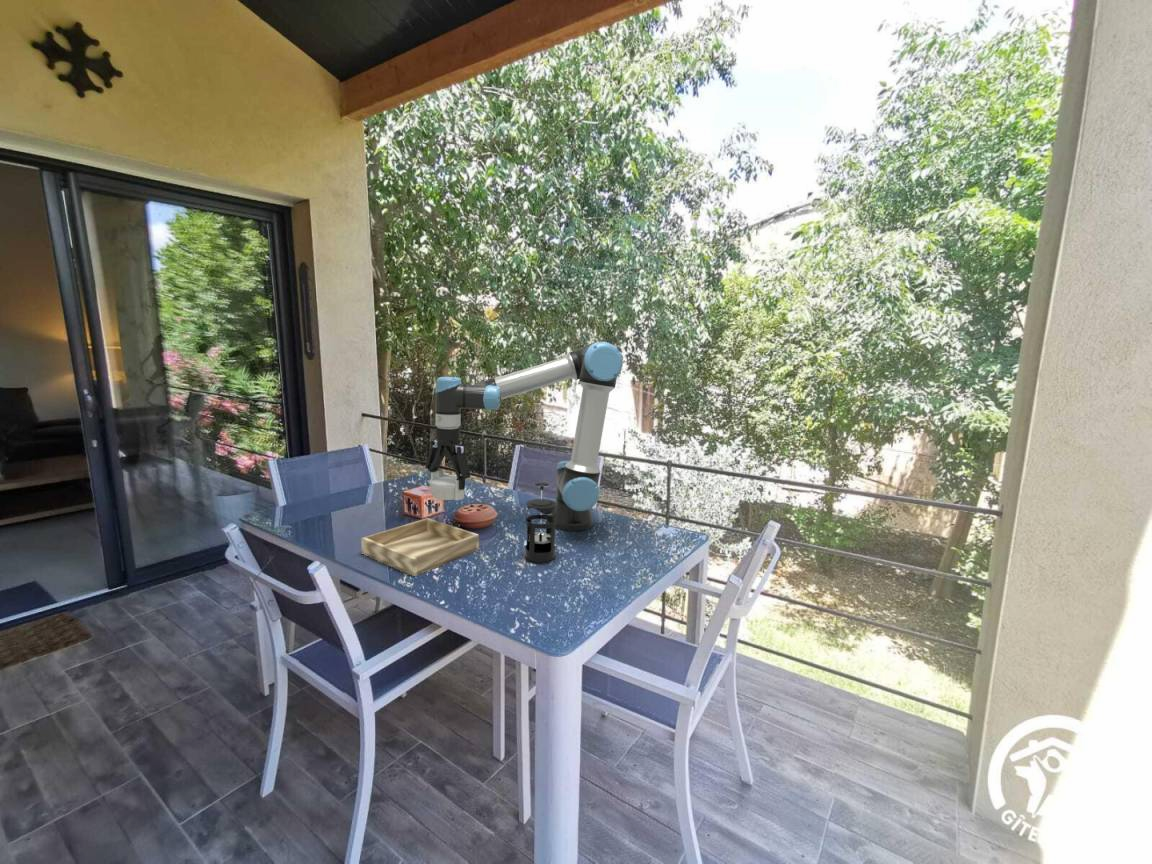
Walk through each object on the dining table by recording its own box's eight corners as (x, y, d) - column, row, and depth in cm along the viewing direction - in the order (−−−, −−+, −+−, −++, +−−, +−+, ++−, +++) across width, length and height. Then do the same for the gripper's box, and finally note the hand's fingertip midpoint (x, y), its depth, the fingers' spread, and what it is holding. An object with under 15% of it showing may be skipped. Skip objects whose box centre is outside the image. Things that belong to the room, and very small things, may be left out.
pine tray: (478, 550, 156) (478, 534, 155) (413, 576, 137) (413, 559, 136) (427, 532, 170) (427, 517, 169) (361, 554, 150) (361, 538, 149)
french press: (542, 567, 145) (544, 489, 142) (516, 559, 150) (517, 484, 146) (564, 554, 155) (567, 481, 152) (539, 547, 160) (541, 476, 156)
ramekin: (441, 489, 168) (442, 474, 167) (471, 494, 165) (472, 478, 164) (421, 498, 158) (421, 481, 157) (453, 503, 154) (453, 486, 154)
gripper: (414, 423, 162) (413, 490, 165) (464, 433, 148) (462, 505, 151) (433, 421, 168) (432, 485, 171) (483, 431, 154) (481, 500, 157)
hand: (446, 495), depth 161 cm, fingers closed on ramekin, 11 cm apart
